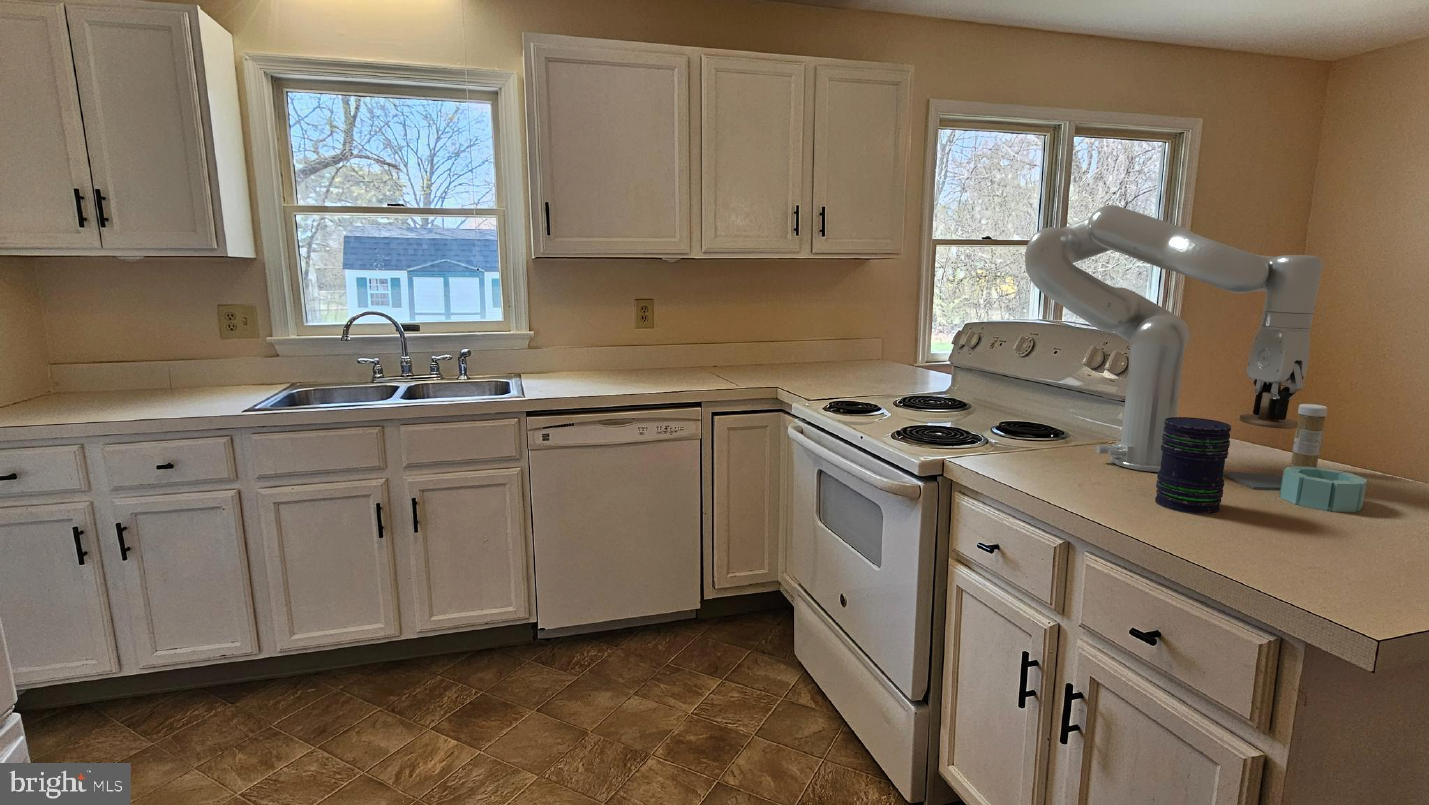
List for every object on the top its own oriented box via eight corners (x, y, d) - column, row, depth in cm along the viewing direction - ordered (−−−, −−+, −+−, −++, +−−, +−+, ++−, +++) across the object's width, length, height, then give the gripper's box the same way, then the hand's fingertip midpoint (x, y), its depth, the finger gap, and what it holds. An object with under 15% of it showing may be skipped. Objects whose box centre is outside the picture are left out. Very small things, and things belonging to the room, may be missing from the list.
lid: (1258, 427, 134) (1264, 397, 133) (1229, 417, 143) (1233, 388, 142) (1309, 429, 134) (1315, 399, 132) (1276, 419, 142) (1281, 390, 141)
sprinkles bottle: (1292, 464, 153) (1302, 402, 150) (1320, 468, 149) (1330, 405, 147) (1286, 467, 150) (1296, 405, 148) (1314, 472, 147) (1324, 408, 144)
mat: (1253, 489, 136) (1253, 486, 136) (1220, 474, 145) (1221, 472, 145) (1309, 490, 135) (1309, 488, 135) (1272, 475, 145) (1272, 473, 145)
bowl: (1310, 511, 123) (1314, 483, 122) (1266, 491, 134) (1270, 465, 133) (1378, 512, 122) (1383, 484, 121) (1329, 493, 133) (1333, 467, 132)
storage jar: (1142, 502, 128) (1152, 420, 125) (1172, 493, 133) (1181, 414, 130) (1202, 518, 120) (1214, 431, 117) (1232, 508, 124) (1244, 425, 122)
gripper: (1237, 317, 143) (1222, 407, 146) (1296, 325, 127) (1277, 426, 130) (1276, 318, 142) (1260, 409, 146) (1341, 326, 126) (1321, 427, 130)
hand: (1268, 416), depth 138 cm, fingers closed on lid, 3 cm apart
